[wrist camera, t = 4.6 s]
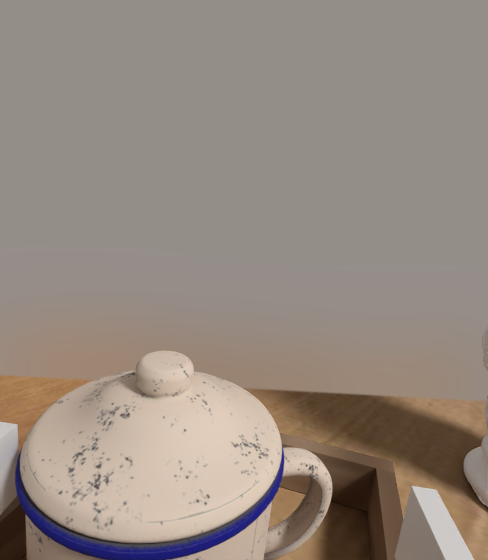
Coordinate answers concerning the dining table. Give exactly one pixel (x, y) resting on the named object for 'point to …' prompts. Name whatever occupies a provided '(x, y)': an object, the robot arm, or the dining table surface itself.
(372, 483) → the walnut box
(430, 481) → the dining table surface
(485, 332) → the cherub figurine
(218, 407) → the teacup with lid
